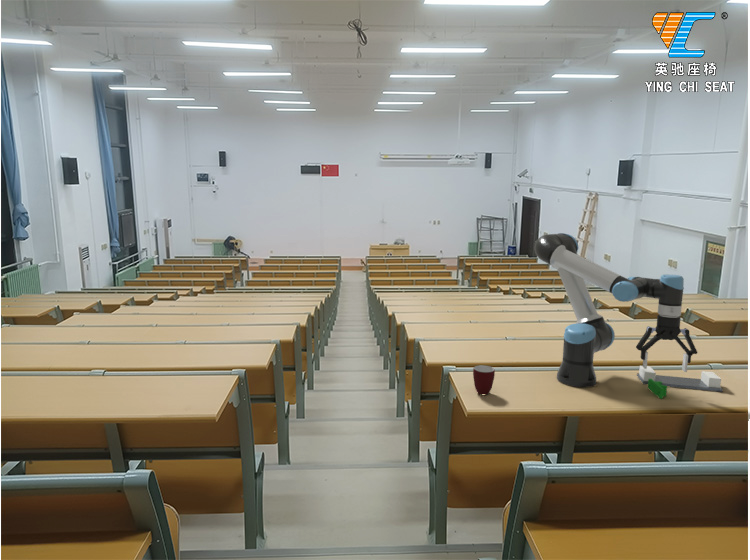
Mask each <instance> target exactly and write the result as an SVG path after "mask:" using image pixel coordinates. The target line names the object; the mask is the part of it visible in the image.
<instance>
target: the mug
mask: <svg viewBox="0 0 750 560" xmlns="http://www.w3.org/2000/svg"><path fill="white" fill-rule="evenodd" d="M495 372H496V371H495V368H494V367H493V366H489V365H483V364H482V365H481V364H479V365H475V366H473V368H472V375H473V383H474V384H473V385H474V388H475V390H476V392H478V393H479V394H478V393H477V394H478V395H480V394H488V393H489V394H490V392H491V390H492V388H493V384H494V380H495V375H496V374H495ZM489 394H488V395H489Z"/></svg>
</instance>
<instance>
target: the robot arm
mask: <svg viewBox="0 0 750 560" xmlns="http://www.w3.org/2000/svg"><path fill="white" fill-rule="evenodd" d="M578 251H579V244H578V240H577V239H576V238H575V237H574V236H573V235H571V234H569V233H552V234H551V233H549V234H548V233H547V234H544V235H542V236H540V237H539V238H538V239H537V240H536V241H535V243H534V253H535V255H536V256H537V258H538V259H539V260H541V261H542V262H543V263H546V264H549V265H550V266H551V268H554V269H556V270H557V272H558V275H559V277H560V279H561V282H562V285H563V287H564V290H565V292H566V295H567V297H568V299H569V300H568V301H569V302H570V305H571V307H572V310H573V313H574V315H575V318H576V322H575V323H571V324H569V325H567V326H566V327H565V328H564V333H563V346H562V347H563V348H562V360H561V361H562V362H561V364H560V366H559V368H558V370H557V373H556V380H557V381H558V382H560V383H562V384H564V385H567V386H571V387H575V388H592V387H594V386H596V384H597V376H596V375H597V374H596V372H595V368H594V355H595V353H598V352H600V351H604V350H606V349H608V348H609V347H610V346H612V344H613V343H614V341H615V337H616V336H615V330H614V329H613V327H612V325H611V324H609V323H608V322H606V321H605V319H604V316H603V315H601V314H598V312H597V308H596V306H595V304H594V302H593V300H592V297H591V295H590V292H589V289H588V287H587V284H586V282H589V283H591V284H593V285H595V286H596V287H598V288H601V289H602V290H604V291H606V292H608V293H610V294H612V295H613V297H614V299H615V300H617V301H618V302H624V303H625V302H632V301H634V300H638V299H642V298H649V299H650V298H651V299H658V303H657V304H658V305H657V314H658V315H656V316H657V318H656V326H655V327H653V326H649V325H648V326H647V327H646V329H645V332H644V334H643V335H642V337H641V338H640V339H639V341H638V342H637V344H636V346H635V348H636V349H637V350H638V351H640V359H641V360H642V366H643V368H644V369H647V366H648V358H649V356H648V354H649V352H648V350H650V348H651V347H653V346H654V345H655V344H656V343H657V342H659V341H660V340H664V341H665V340H666V341H667V340H668V341H673V340H675V342H676V343H677V344H678V345H679V346H680V347H681V348H682V350H683V351H684V353H683V354H682V355H683V358H682V365H681V366H682V367H681V371H683V372H684V373H687V372H688V364H690V363H691V361H692V356H693V355H697V354H698V349H697V348H696V346H695V343H694V341H693V339H692V338H691V335H690V329H688V328H686V327H685V328H681V319H682V318H681V316H682V305H683V297H684V296H683V294H684V289H685V288H684V284H685V283H684V282H685V281H684V277H683V276H681V275H679V274H662V275H660V278H651V277H650V278H649V277H642V276H641V277H640V276H630V277H627V278H626V277H624V276H622V274H621V275H620V274H618V273H617V272H614V271H612V270H610V269H608V268H606V267H604V266H601V265H600V264H597V263H595V262H594V261H591V260H589V259H586V258H585V257H583V256H581V255H579V254H578ZM585 281H586V282H585ZM654 332H655V333H656V334H655V335H653V337H652V338H651V339H649V338H650V336H651V335H652V334H653V333H654ZM680 334H682V335H683V336H684V339H685V340H686V343H687V345H688V346H689V347H687V346H686V344H685V343H684V342H683V341H682V339H680V337H679V335H680ZM648 339H649V341H648ZM689 349H690V350H689Z"/></svg>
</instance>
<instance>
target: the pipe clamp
mask: <svg viewBox="0 0 750 560" xmlns="http://www.w3.org/2000/svg"><path fill="white" fill-rule="evenodd" d="M648 388H649V389H650V390H651V391H652V392H651V391H650V390H649V389H648ZM647 389H648V390H649V391H650V392H651V393H653V394H654V395H655V396H656V397H657V398H658V399H661V400H664V397H667V390H668V387H667V386H665V385H662V382H657V381H653V380H652V379H649V380H648V385H647Z"/></svg>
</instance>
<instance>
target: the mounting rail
mask: <svg viewBox="0 0 750 560" xmlns="http://www.w3.org/2000/svg"><path fill="white" fill-rule="evenodd" d="M636 376H638V377H637V378H638V379H639V381H640V380H641V381H640V382H641V383H643V384H642V385H646V384H648V380H649V379H652V380H653V381H657V382H662V385H665V386H670V388H677V389H678V388H679V389H689V390H698V391H700V390H701V391H708V392H709V391H710V392H720V393H722V392H723V388H722V387H721V383H722V378H721V377H720V376H718V375H717V374H716V373H715V372H713V371H704V370H701V373H700V378H691V377H683V376H682V377H681V376H673V375H660V374H656V371H655V370H654V369H653V367H652V366H649V365H647V369H644V368H643V365H639V370H638V373H636Z"/></svg>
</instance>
